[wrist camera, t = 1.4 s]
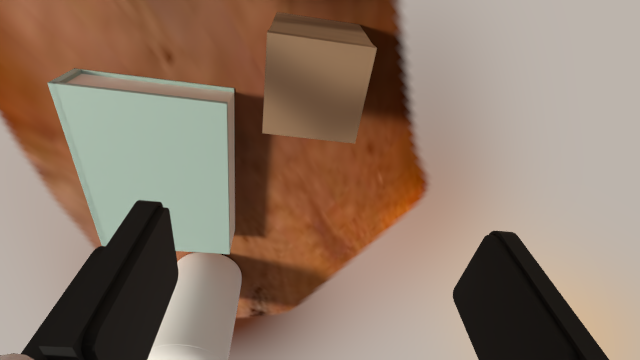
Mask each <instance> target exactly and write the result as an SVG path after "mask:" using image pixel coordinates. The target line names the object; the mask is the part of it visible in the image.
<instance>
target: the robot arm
mask: <svg viewBox="0 0 640 360" xmlns="http://www.w3.org/2000/svg"><path fill="white" fill-rule="evenodd" d="M178 273H179V272H178V265H177V258H176V251H175V244H174V238H173V231H172V224H171V217H170V211H169V209H168V208H165V207H163V204H162V203H161V202H157V201H145V200H138V201H136V203H135V204H134V205H133V207H132V208H131V210H130V211H129V213H128V214H127V216H126V217H125V219H124V220H123V222H122V223H121V225H120V226H119V227H118V229H117V230H116V232H115V233H114V235H113V236H112V238H111V239H110V241H109V242H108V244H107V245H106V246H100V247H98V248H96V249H95V250H94V251H93V253H92V254H91V255H90V256H89V258H88V259H87V261H86V262H85V264H84V265H83V266H82V268H81V269H80V271H79V272H78V273H77V275H76V276H75V278H74V279H73V281H72V282H71V283H70V285H69V286H68V288H67V289H66V290H65V292H64V293H63V295H62V296H61V298H60V299H59V301H58V302H57V303H56V305H55V306H54V307H53V309H52V310H51V312H50V313H49V315H48V316H47V317H46V319H45V320H44V322H43V323H42V325H41V326H40V327H39V329H38V330H37V332H36V333H35V334H34V336H33V337H32V339H31V340H30V342H29V343H28V344H27V346H26V347H25V349H24V350H23V351H22V353H21V354H14V353H13V354H7V355H0V360H147V359H148V357H149V354H150V352H151V349H152V346H153V344H154V341H155V339H156V336H157V333H158V331H159V328H160V326H161V323H162V320H163V318H164V315H165V313H166V310H167V308H168V305H169V302H170V300H171V297H172V295H173V292H174V289H175V287H176V284H177V281H178ZM453 299H454V302H455V305H456V307H457V309H458V312H459V314H460V317H461V319H462V321H463V324H464V326H465V328H466V331H467V333H468V335H469V338H470V340H471V342H472V345H473V347H474V350H475V352H476V354H477V357H478V359H479V360H609V359H608V358H607V356H606V355H605V353H604V352H603V351H602V349H601V348H600V347H599V345H598V344H597V343H596V341H595V340H594V339H593V337H592V336H591V335H590V333H589V332H588V331H587V329H586V328H585V326H584V325H583V324H582V322H581V321H580V320H579V319H578V317H577V316H576V314H575V313H574V312H573V310H572V309H571V308H570V306H569V305H568V303H567V302H566V301H565V300H564V298H563V297H562V295H561V294H560V293H559V292H558V290H557V289H556V287H555V286H554V284H553V283H552V282H551V281H550V279H549V278H548V276H547V275H546V274H545V272H544V271H543V270H542V268H541V267H540V266H539V264H538V263H537V261H536V260H535V259H534V258H533V256H532V255H531V254H530V252H529V251H528V250H527V248H526V247H525V245H524V244H523V243H522V241H521V240H520V238H519V237H518V236H517V235H516V234H515V233H513V232H503V231H492V232H491V233H490V234H489V235H487V236H485V237H484V239H483V241H482V242H481V244H480V246H479V247H478V249H477V251H476V252H475V254H474V256H473V257H472V259H471V261H470V263H469V264H468V266H467V268H466V269H465V271H464V273H463V274H462V276H461V278H460V280H459V281H458V283H457V285H456V286H455V288H454V290H453Z"/></svg>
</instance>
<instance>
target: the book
mask: <svg viewBox="0 0 640 360" xmlns="http://www.w3.org/2000/svg"><path fill="white" fill-rule="evenodd" d="M48 86H49V89H50V92H51V95H52V98H53V101H54V104H55V107H56V110H57V113H58V116H59V119H60V122H61V125H62V128H63V131H64V134H65V137H66V140H67V143H68V146H69V149H70V152H71V155H72V158H73V161H74V164H75V167H76V170H77V173H78V176H79V179H80V182H81V185H82V187H83V190H84V193H85V196H86V199H87V202H88V205H89V208H90V211H91V214H92V217H93V220H94V223H95V226H96V229H97V232H98V235H99V238H100V241H101V244H102V246H106V245H107V244H108V242H109V241H110V239H111V238H112V236H113V235H114V233H115V232H116V230H117V229H118V227H119V226H120V225H121V223H122V222H123V220H124V219H125V217H126V216H127V214H128V213H129V211H130V210H131V208H132V207H133V205H134V204H135V203H136V201H138V200H145V201H157V202H161V203H162V204H163V207H165V208H168V209H169V211H170V217H171V224H172V231H173V238H174V244H175V251H187V252H202V253H217V254H230V248H231V244H232V240H233V236H234V232H235V114H234V88H229V87H221V86H213V85H205V84H197V83H188V82H180V81H172V80H164V79H156V78H148V77H140V76H132V75H124V74H116V73H108V72H99V71H91V70H83V69H75V68H74V69H72V70H71V71H69V72H67V73H65V74H63V75H61V76H59V77H58V78H56V79H54V80H52V81H50V82H48Z"/></svg>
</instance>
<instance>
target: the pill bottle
mask: <svg viewBox="0 0 640 360" xmlns="http://www.w3.org/2000/svg"><path fill="white" fill-rule="evenodd" d="M177 265H178V272H179V273H178V281H177V284H176V287H175V289H174V292H173V295H172V297H171V300H170V302H169V305H168V308H167V310H166V313H165V315H164V318H163V320H162V323H161V326H160V328H159V331H158V333H157V336H156V339H155V341H154V344H153V346H152V349H151V352H150V354H149V357H148V359H147V360H228V358H229V352H230V346H231V340H232V335H233V329H234V323H235V318H236V312H237V306H238V301H239V295H240V289H241V284H242V274H241V271H240V268H239V267H238V265H237V264H236V263H235V262H234V261H233V260H231V259H230V258H228V257H226V256H224V255H222V254H217V253H202V252H194V253H191V254H188V255H186V256H184V257H183V258H181V259H180V260H179V261H178V262H177Z"/></svg>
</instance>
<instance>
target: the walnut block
mask: <svg viewBox="0 0 640 360" xmlns="http://www.w3.org/2000/svg"><path fill="white" fill-rule="evenodd" d="M376 50H377V47H376V46H374V45H373V44H372V43H371V41H370V40H369V38H368V37H367V35H366V34H365V32H364V31H363V29H362V28H361V26H360V25H359V24H353V23H346V22H339V21H333V20H326V19H320V18H313V17H307V16H300V15H293V14H287V13H280V12H277V13H276V16H275V18H274V20H273V23H272V25H271V28H270V30H268V32H267V47H266V67H265V88H264V108H263V129H262V133H265V134H274V135H283V136H292V137H301V138H310V139H319V140H328V141H338V142H347V143H355V141H356V137H357V132H358V128H359V124H360V119H361V115H362V111H363V106H364V102H365V98H366V94H367V89H368V85H369V81H370V76H371V72H372V68H373V63H374V59H375V55H376Z"/></svg>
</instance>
